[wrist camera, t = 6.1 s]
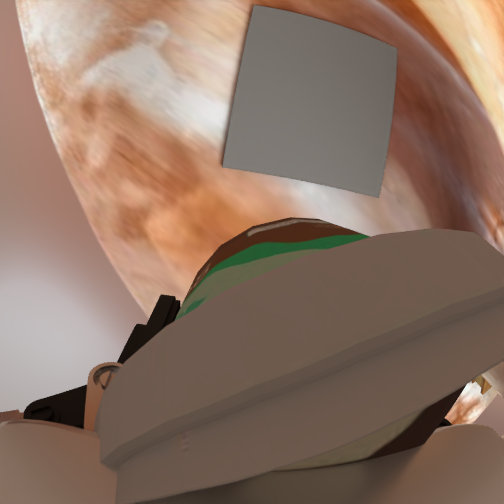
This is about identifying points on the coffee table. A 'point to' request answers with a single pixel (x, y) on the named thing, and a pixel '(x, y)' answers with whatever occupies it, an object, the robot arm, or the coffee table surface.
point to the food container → (304, 356)
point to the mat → (312, 102)
